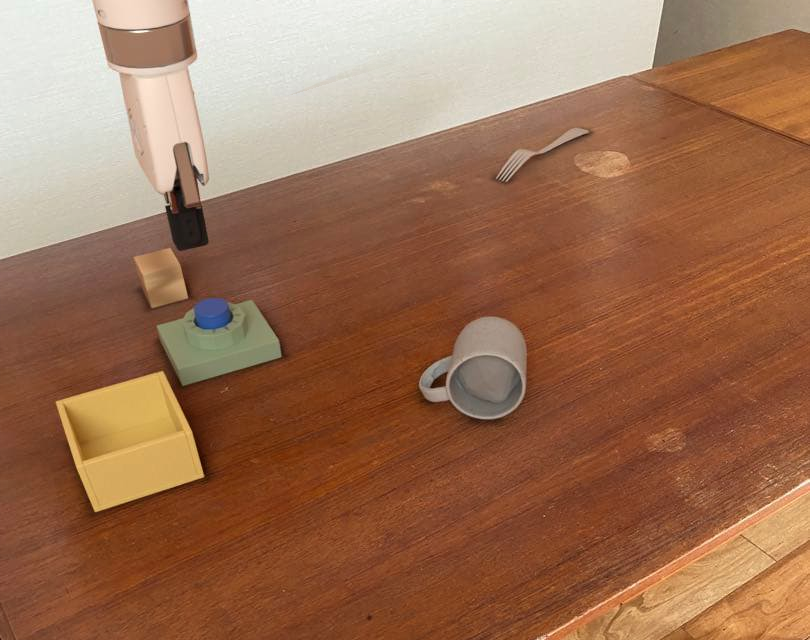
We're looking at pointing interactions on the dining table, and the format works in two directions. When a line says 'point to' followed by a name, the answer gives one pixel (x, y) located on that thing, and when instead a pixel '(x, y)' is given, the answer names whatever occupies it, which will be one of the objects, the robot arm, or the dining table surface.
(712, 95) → the dining table surface
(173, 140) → the robot arm
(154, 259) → the block
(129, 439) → the bin
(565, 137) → the fork
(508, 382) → the ceramic mug
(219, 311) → the blue short cylinder
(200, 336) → the green socket base
